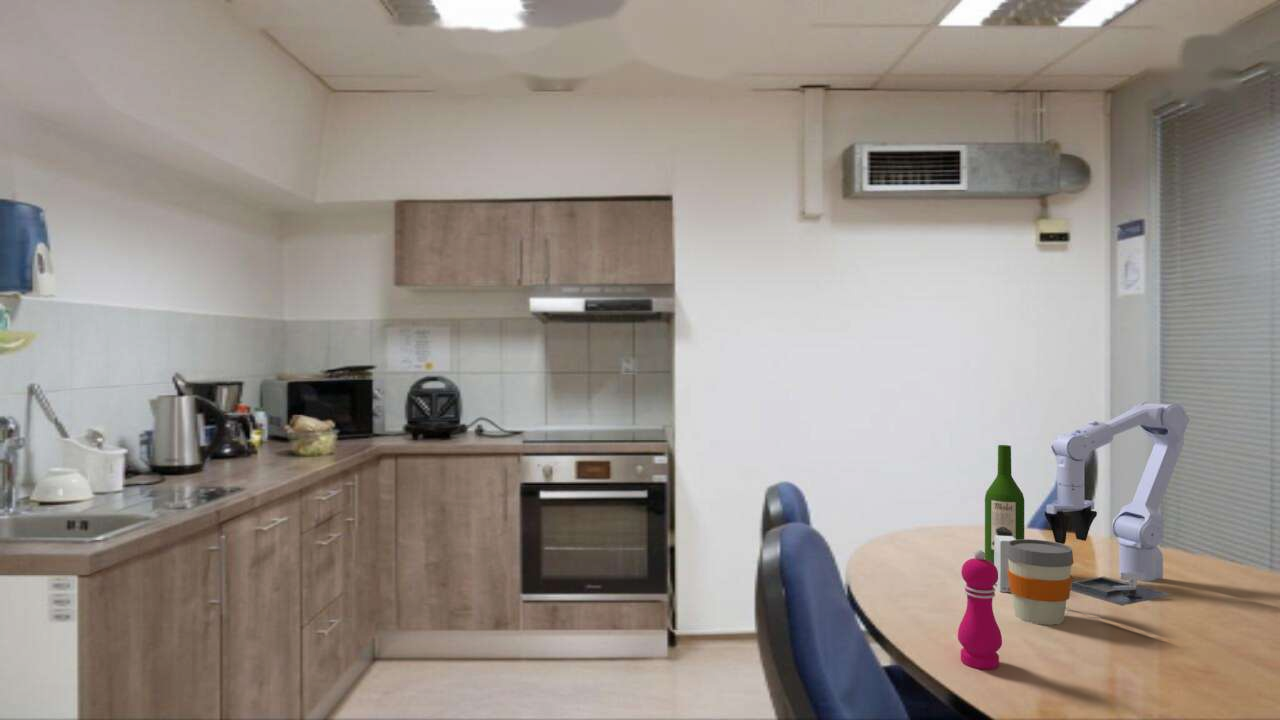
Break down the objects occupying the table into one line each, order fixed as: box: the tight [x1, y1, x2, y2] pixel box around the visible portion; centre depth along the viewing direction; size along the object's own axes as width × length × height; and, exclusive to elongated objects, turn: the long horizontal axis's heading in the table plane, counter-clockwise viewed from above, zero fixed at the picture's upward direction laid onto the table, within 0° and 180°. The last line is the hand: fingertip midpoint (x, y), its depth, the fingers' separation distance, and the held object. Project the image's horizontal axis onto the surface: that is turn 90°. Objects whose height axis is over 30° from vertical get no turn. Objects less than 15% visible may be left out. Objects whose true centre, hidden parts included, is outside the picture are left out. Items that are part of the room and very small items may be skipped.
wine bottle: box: [984, 444, 1025, 564], centre depth 191 cm, size 9×9×32 cm
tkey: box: [1112, 572, 1145, 594], centre depth 170 cm, size 1×7×5 cm, turn 98°
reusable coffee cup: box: [1006, 538, 1075, 626], centre depth 159 cm, size 13×13×15 cm
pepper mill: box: [957, 549, 1003, 670], centre depth 135 cm, size 7×7×20 cm
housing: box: [1070, 576, 1173, 606], centre depth 175 cm, size 18×16×2 cm
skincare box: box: [994, 535, 1016, 593], centre depth 179 cm, size 6×4×12 cm
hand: (1070, 541), depth 183 cm, fingers open, 7 cm apart
